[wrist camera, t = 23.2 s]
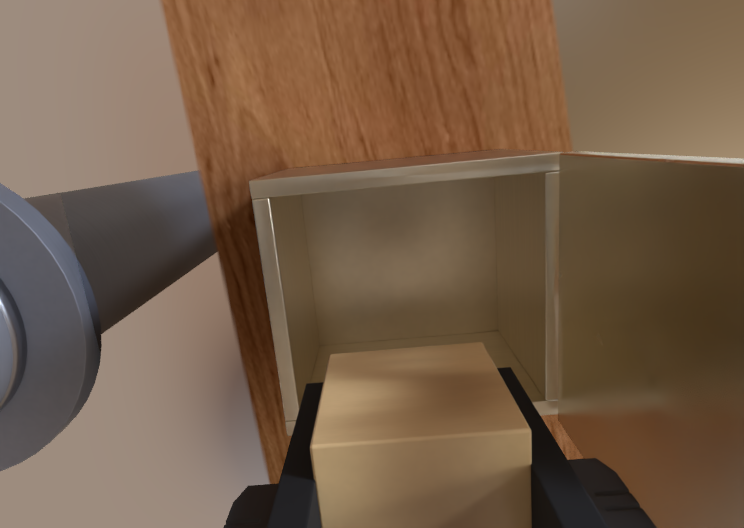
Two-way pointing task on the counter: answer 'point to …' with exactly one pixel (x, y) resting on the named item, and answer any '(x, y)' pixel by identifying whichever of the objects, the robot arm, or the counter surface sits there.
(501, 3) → the counter surface
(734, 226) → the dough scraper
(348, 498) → the block
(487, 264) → the open box
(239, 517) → the robot arm
